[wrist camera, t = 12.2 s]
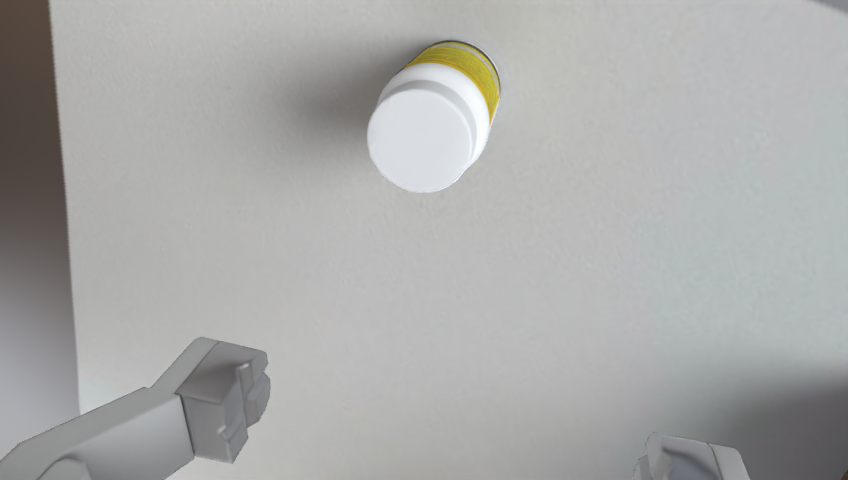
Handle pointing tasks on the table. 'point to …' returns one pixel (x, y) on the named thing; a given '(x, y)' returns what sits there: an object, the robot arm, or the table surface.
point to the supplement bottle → (434, 117)
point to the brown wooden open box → (845, 477)
